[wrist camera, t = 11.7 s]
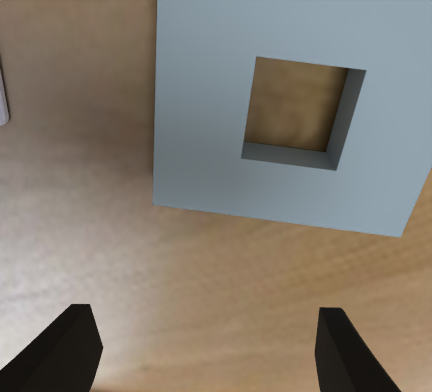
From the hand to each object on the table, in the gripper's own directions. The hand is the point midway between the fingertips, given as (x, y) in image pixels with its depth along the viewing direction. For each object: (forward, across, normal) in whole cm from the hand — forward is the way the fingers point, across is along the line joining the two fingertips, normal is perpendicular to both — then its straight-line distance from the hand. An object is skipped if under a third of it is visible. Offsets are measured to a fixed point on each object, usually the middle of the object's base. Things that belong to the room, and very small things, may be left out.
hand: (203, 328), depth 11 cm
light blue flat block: (+10, -4, -4) cm, 12 cm away
